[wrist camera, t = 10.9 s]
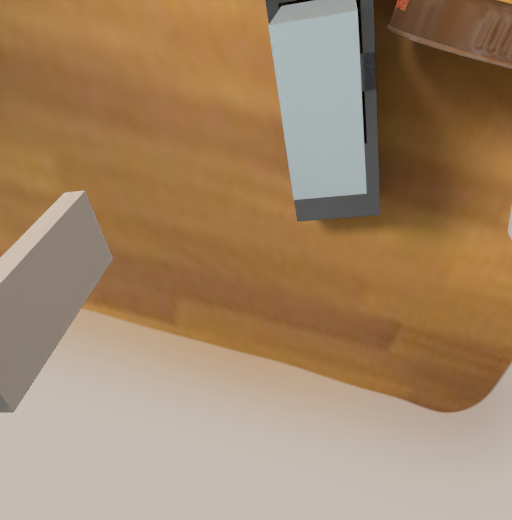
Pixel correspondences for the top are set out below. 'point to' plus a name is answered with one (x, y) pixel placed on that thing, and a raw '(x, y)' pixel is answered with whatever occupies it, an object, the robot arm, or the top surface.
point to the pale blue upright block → (320, 96)
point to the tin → (458, 27)
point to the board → (371, 200)
